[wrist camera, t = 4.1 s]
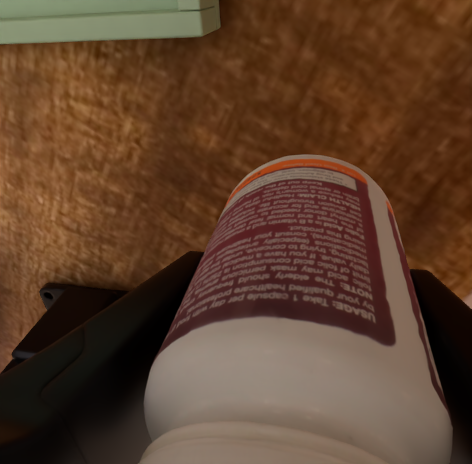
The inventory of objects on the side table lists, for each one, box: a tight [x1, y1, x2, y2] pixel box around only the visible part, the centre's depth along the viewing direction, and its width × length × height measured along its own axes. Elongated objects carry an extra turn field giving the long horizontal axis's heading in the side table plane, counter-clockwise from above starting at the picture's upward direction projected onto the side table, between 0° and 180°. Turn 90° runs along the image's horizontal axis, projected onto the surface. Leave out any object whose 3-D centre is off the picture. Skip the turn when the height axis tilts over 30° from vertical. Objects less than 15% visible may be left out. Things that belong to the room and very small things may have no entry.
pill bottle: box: [138, 154, 453, 464], centre depth 8 cm, size 5×5×8 cm
